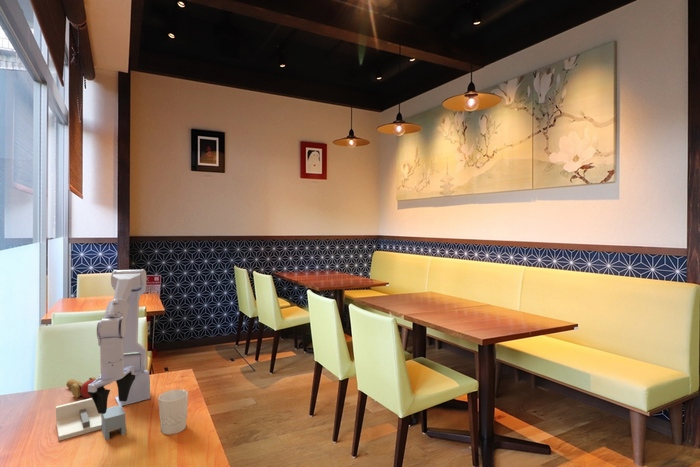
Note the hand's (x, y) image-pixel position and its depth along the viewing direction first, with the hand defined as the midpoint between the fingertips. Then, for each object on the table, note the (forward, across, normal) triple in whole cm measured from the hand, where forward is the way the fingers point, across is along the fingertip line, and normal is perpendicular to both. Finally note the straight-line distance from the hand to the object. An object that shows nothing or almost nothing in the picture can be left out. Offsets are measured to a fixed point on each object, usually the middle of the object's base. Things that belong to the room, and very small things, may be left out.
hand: (112, 406), depth 115 cm
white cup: (+8, -6, +16) cm, 18 cm away
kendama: (+8, -19, -31) cm, 37 cm away
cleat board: (+7, -2, -12) cm, 14 cm away
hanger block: (+7, 0, 0) cm, 7 cm away
